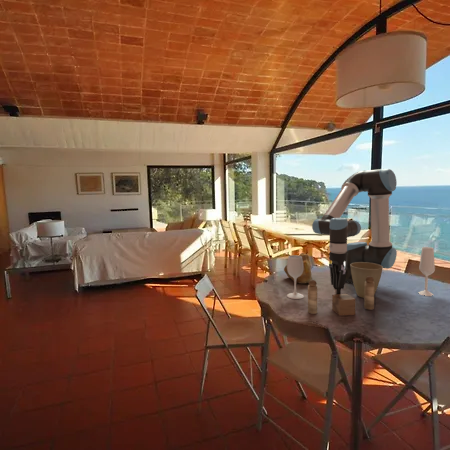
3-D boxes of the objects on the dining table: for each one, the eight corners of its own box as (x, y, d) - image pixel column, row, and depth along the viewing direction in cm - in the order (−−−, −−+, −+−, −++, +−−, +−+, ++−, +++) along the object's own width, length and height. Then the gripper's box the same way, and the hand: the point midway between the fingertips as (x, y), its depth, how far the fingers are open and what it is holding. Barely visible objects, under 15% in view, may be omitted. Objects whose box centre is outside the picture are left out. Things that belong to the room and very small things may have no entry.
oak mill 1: (306, 310, 136) (306, 278, 134) (314, 310, 136) (315, 278, 135) (310, 314, 132) (310, 281, 130) (318, 313, 132) (318, 280, 131)
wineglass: (294, 300, 149) (294, 259, 147) (283, 295, 157) (283, 256, 154) (307, 297, 153) (307, 257, 151) (296, 292, 161) (296, 254, 158)
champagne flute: (418, 291, 158) (420, 246, 155) (433, 293, 154) (436, 247, 151) (417, 294, 152) (419, 248, 150) (433, 297, 149) (435, 249, 146)
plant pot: (360, 302, 144) (361, 270, 143) (344, 292, 159) (344, 263, 157) (388, 299, 147) (389, 268, 145) (369, 290, 161) (370, 261, 159)
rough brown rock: (286, 274, 199) (284, 252, 197) (312, 274, 193) (310, 251, 192) (282, 286, 177) (280, 262, 175) (311, 286, 171) (309, 260, 170)
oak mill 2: (362, 306, 139) (363, 275, 137) (370, 306, 139) (371, 274, 138) (367, 309, 135) (368, 277, 133) (375, 309, 135) (376, 277, 134)
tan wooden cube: (332, 309, 136) (332, 294, 136) (346, 308, 137) (346, 293, 136) (339, 315, 129) (340, 300, 129) (355, 314, 130) (355, 299, 130)
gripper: (323, 249, 142) (323, 297, 145) (336, 255, 129) (335, 307, 132) (338, 248, 143) (338, 296, 145) (353, 254, 130) (352, 306, 133)
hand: (337, 301), depth 139 cm, fingers closed
